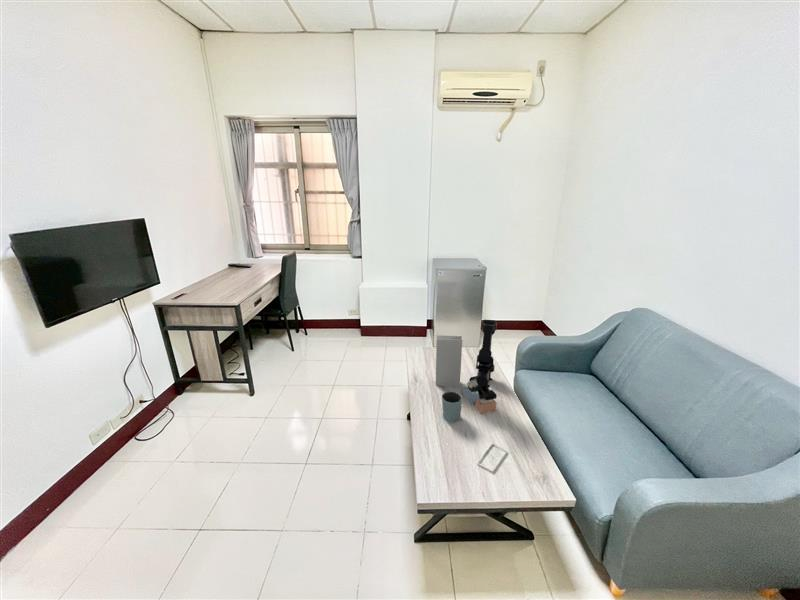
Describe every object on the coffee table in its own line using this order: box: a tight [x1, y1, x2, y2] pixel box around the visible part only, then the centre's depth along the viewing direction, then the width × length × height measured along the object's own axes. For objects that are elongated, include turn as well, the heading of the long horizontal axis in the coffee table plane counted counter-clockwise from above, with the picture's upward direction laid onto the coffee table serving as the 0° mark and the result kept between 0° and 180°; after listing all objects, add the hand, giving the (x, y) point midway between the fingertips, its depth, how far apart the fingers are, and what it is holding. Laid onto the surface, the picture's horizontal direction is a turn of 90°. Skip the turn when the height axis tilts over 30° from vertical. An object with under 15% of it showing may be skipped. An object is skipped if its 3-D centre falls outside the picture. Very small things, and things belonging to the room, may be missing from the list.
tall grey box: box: [435, 334, 463, 387], centre depth 193 cm, size 14×6×30 cm, turn 84°
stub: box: [475, 398, 497, 415], centre depth 173 cm, size 5×9×5 cm, turn 106°
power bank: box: [476, 442, 508, 474], centre depth 142 cm, size 7×1×15 cm
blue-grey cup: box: [441, 390, 463, 423], centre depth 167 cm, size 10×10×12 cm
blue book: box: [460, 387, 480, 405], centre depth 185 cm, size 14×9×1 cm, turn 16°
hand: (481, 401), depth 177 cm, fingers closed
